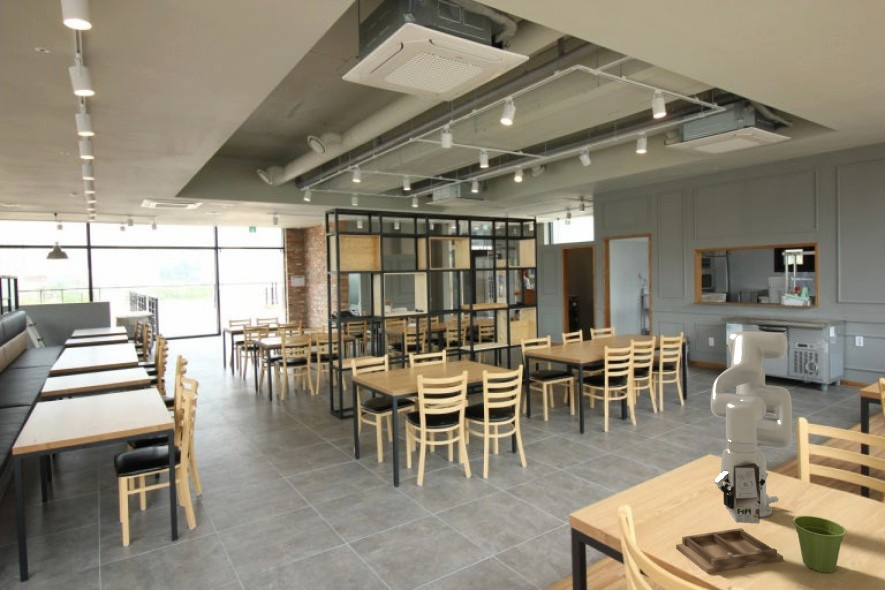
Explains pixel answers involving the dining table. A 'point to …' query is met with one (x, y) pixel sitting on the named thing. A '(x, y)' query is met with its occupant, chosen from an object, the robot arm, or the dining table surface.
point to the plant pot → (819, 541)
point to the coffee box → (746, 494)
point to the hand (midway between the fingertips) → (741, 504)
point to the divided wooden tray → (726, 550)
